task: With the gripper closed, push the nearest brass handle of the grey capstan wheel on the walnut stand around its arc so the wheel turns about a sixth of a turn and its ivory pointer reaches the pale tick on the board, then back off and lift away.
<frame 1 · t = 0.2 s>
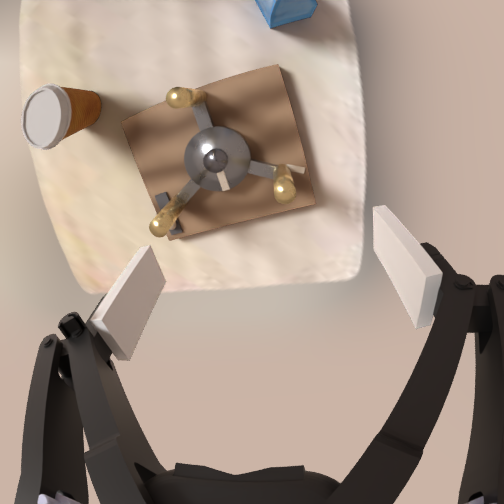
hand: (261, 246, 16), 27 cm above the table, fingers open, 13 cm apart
disposable coffee cup: (87, 108, 36), on the table
perfume bottle: (281, 6, 28), on the table
stand: (221, 154, 40), on the table
capstan: (206, 147, 32), point 7 cm above the table, hinge at 0.0°
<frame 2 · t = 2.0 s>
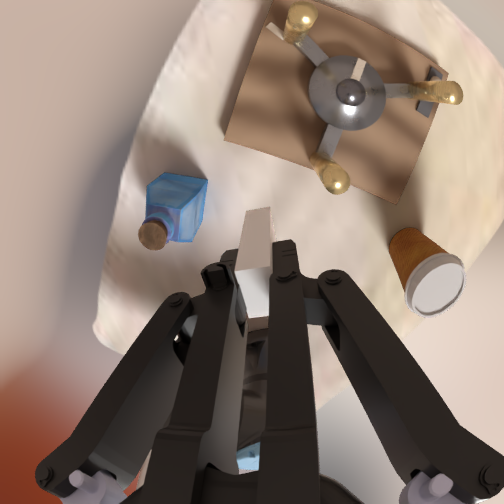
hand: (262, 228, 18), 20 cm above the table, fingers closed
disposable coffee cup: (405, 244, 40), on the table
perfume bottle: (183, 196, 38), on the table
stand: (340, 93, 30), on the table
capstan: (350, 110, 24), point 7 cm above the table, hinge at 0.0°
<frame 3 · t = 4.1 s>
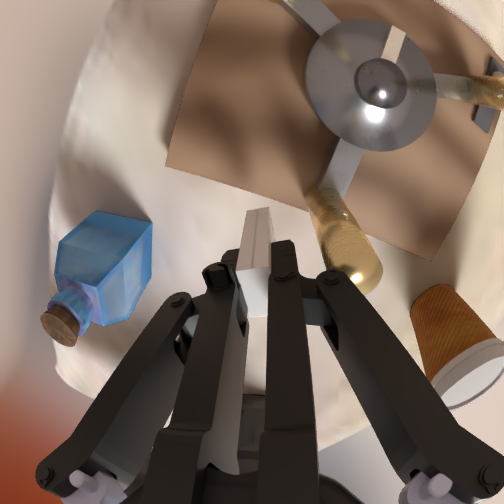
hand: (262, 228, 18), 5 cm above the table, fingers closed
disposable coffee cup: (432, 304, 27), on the table
perfume bottle: (124, 243, 26), on the table
stand: (358, 85, 17), on the table
capstan: (384, 117, 12), point 7 cm above the table, hinge at 0.2°, touching gripper
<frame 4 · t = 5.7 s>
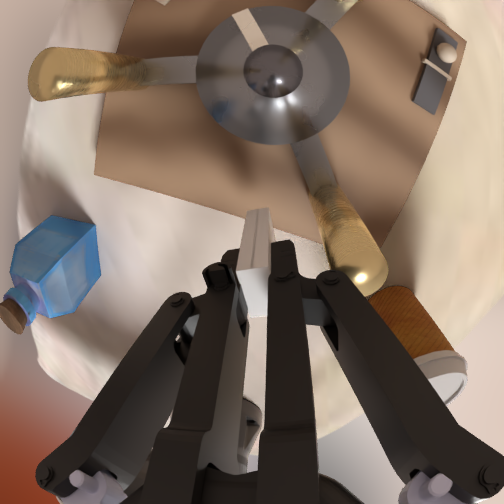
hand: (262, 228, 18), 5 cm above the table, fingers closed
disposable coffee cup: (388, 307, 28), on the table
perfume bottle: (76, 244, 26), on the table
stand: (272, 77, 17), on the table
capstan: (293, 107, 12), point 7 cm above the table, hinge at 42.8°, touching gripper
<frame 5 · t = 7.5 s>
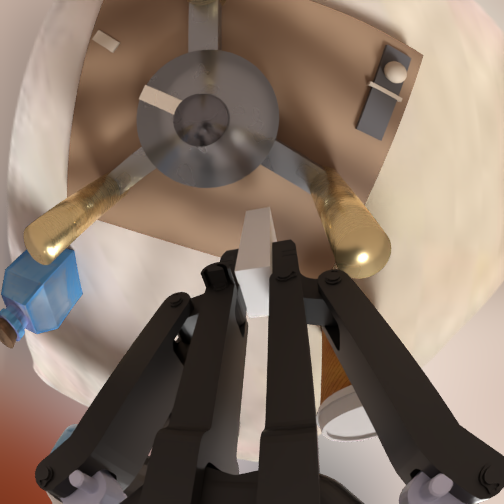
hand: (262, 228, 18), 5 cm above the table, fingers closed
disposable coffee cup: (349, 326, 29), on the table
perfume bottle: (59, 266, 28), on the table
stand: (216, 115, 19), on the table
capstan: (229, 142, 13), point 7 cm above the table, hinge at 77.5°
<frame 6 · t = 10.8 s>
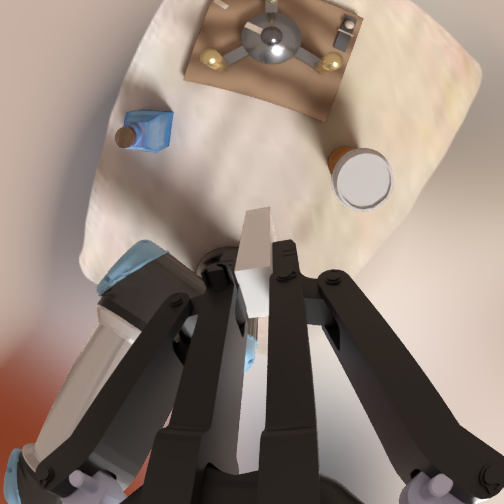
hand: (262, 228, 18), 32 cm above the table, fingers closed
disposable coffee cup: (345, 163, 46), on the table
perfume bottle: (155, 127, 45), on the table
stand: (271, 42, 36), on the table
capstan: (285, 39, 30), point 7 cm above the table, hinge at 77.5°
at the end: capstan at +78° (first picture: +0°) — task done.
